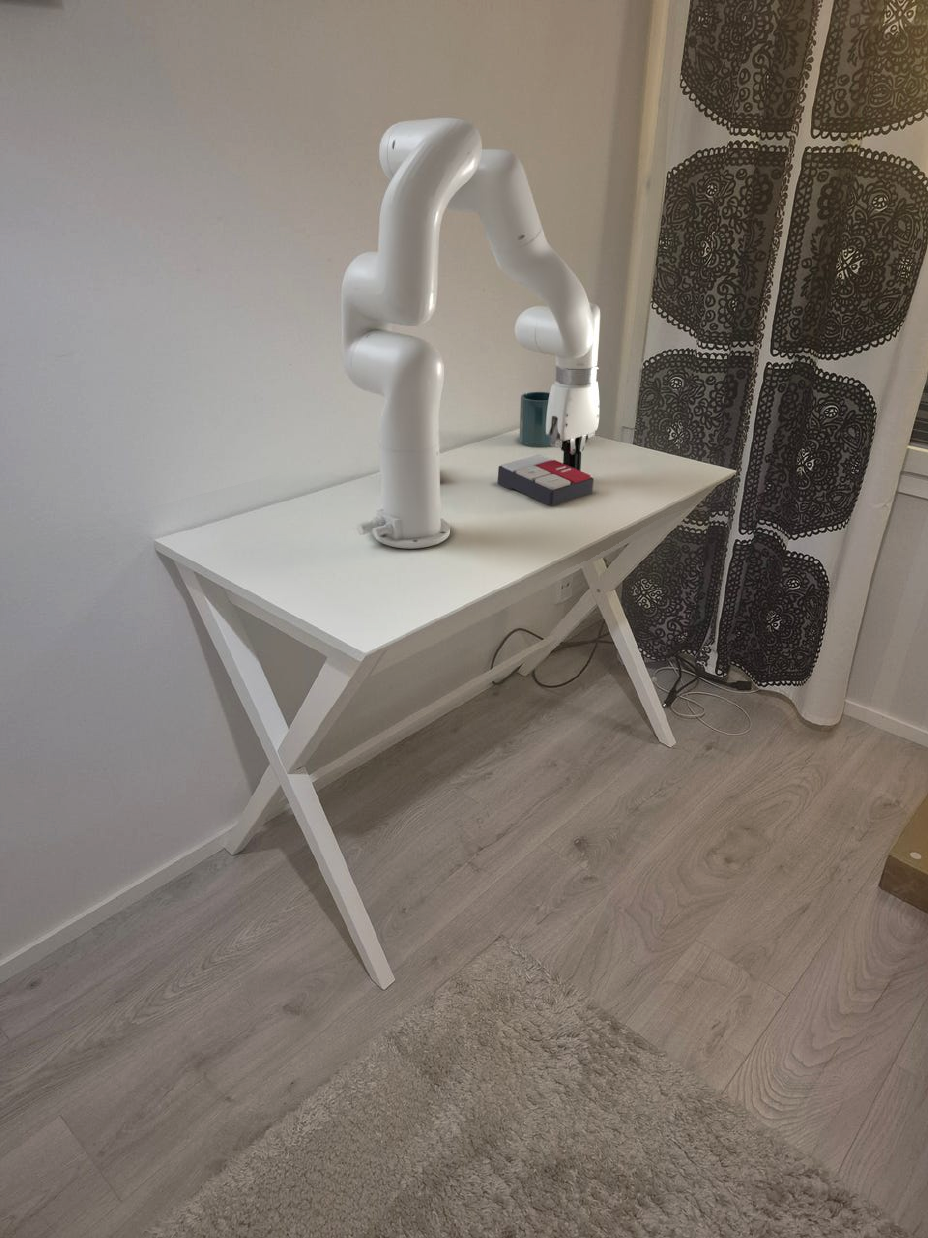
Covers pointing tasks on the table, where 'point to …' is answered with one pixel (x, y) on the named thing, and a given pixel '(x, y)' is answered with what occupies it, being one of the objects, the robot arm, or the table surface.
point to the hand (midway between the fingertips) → (571, 470)
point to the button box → (545, 479)
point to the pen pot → (534, 419)
